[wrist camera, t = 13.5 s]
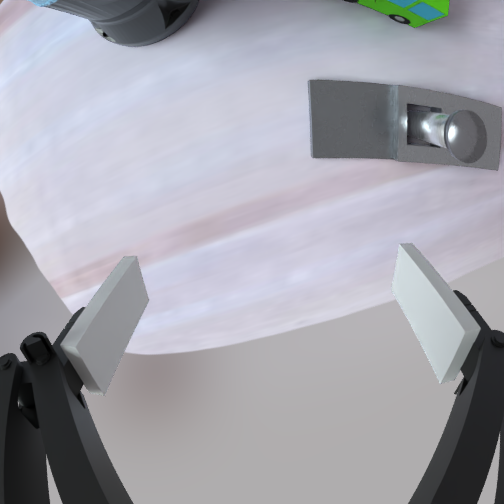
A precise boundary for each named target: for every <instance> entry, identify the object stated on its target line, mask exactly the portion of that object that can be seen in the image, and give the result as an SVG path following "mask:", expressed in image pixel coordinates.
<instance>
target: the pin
mask: <svg viewBox="0 0 504 504" xmlns="http://www.w3.org/2000/svg"><path fill="white" fill-rule="evenodd" d="M407 135H408V136H410V137H412V138H416V139H419V140H422V141H426V142H429V143H432V144H435V145H438V146H441V147H444V148H447V150H448V151H449V153H450V154H451V155H452V156H453V157H454V158H455V159H457V160H459V161H461V162H464V163H474V162H476V161H478V160H479V159H480V158H481V157H482V155H483V154H484V152H485V149H486V145H487V131H486V127H485V125H484V123H483V121H482V119H481V118H480V117H479V116H478V115H477V114H476V113H474V112H472V111H469V110H456V111H454V112H453V113H451V114H450V115H448V114H441V113H434V112H427V111H418V110H410V111H408V112H407Z"/></svg>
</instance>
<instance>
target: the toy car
mask: <svg viewBox="0 0 504 504" xmlns="http://www.w3.org/2000/svg"><path fill="white" fill-rule="evenodd" d="M344 1H347V2H358V3H359V4H361V5H364V6H366V7H369V8H371V9H374V10H376V11H379V12H381V13H383V14H386V15H389V17H390V18H391V19H393V20H395V21H397V22H399V23H404V24H409V25H410V26H412V27H414V28H415V27H418V26H421V25H423V24H426V23H429V22H431V21H434V20H437V19H440V18H442V17H445V16H448V10H449V0H344Z"/></svg>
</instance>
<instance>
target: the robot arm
mask: <svg viewBox="0 0 504 504" xmlns="http://www.w3.org/2000/svg"><path fill="white" fill-rule="evenodd" d="M28 1H31V2H33V3H34V4H35V5H36V6H40V7H48V8H52V9H56V10H59V11H63V12H66V13H70V14H73V15H76V16H79V17H83V18H86V19H89V21H90V22H91V24H92V25H93V27H94V28H95V30H96V31H97V32H98V33H99V34H100V35H101V36H102V37H103V38H105V39H106V40H108V41H110V42H113V43H116V44H119V45H122V46H128V47H138V46H145V45H149V44H152V43H155V42H158V41H160V40H162V39H164V38H166V37H168V36H170V35H171V34H173V33H174V32H175V31H177V30H178V29H179V28H180V27H181V26H183V25H184V24H185V23H186V21H187V20H188V19H189V18H190V17H191V15H192V14H193V12H194V11H195V9H196V7H197V4H198V2H199V0H28ZM391 291H392V292H393V294H394V296H395V298H396V299H397V301H398V303H399V305H400V306H401V308H402V310H403V312H404V314H405V315H406V317H407V319H408V321H409V323H410V325H411V327H412V328H413V330H414V332H415V334H416V336H417V338H418V340H419V342H420V344H421V346H422V348H423V350H424V352H425V353H426V356H427V357H428V360H429V362H430V364H431V366H432V368H433V370H434V372H435V374H436V376H437V379H438V381H439V383H440V384H442V383H445V382H449V381H452V380H455V379H456V377H457V375H458V373H459V371H460V370H461V371H462V373H463V375H464V378H463V379H462V381H461V383H460V384H459V386H458V388H457V390H456V391H455V393H454V394H457V397H456V399H455V402H454V405H453V408H452V411H451V414H450V416H449V419H448V422H447V424H446V427H445V429H444V432H443V434H442V437H441V439H440V442H439V444H438V446H437V448H436V451H435V453H434V455H433V457H432V460H431V461H430V464H429V466H428V468H427V470H426V472H425V474H424V476H423V478H422V480H421V481H420V483H419V485H418V487H417V489H416V491H415V492H414V494H413V496H412V498H411V499H410V502H409V503H408V504H477V502H478V500H479V497H480V494H481V492H482V489H483V487H484V484H485V481H486V478H487V475H488V472H489V469H490V466H491V463H492V459H493V456H494V453H495V449H496V445H497V441H498V437H499V433H500V457H499V458H500V459H499V471H498V481H497V489H496V496H495V503H494V504H504V333H503V332H501V331H498V330H491V329H490V328H489V326H488V325H487V323H486V322H485V321H484V319H483V318H482V317H481V315H480V314H479V313H478V311H476V309H475V307H474V306H473V305H471V302H470V301H469V300H468V299H467V297H466V296H465V295H463V294H462V293H460V292H459V291H457V290H454V291H452V289H451V288H450V287H449V286H448V284H447V283H446V282H445V281H444V279H443V278H442V277H441V276H440V275H439V273H438V272H437V271H436V270H435V269H434V267H433V266H432V265H431V264H430V263H429V262H428V260H427V259H426V258H425V257H424V256H423V255H422V254H421V252H420V251H419V250H418V249H417V248H416V247H415V246H414V245H413V244H412V243H405V244H399V248H398V255H397V261H396V266H395V272H394V277H393V283H392V288H391ZM148 302H149V298H148V295H147V291H146V288H145V284H144V281H143V277H142V274H141V270H140V266H139V263H138V259H137V256H126V257H123V258H122V260H121V261H120V262H119V263H118V265H117V266H116V267H115V269H114V270H113V271H112V272H111V274H110V275H109V276H108V278H107V279H106V280H105V282H104V283H103V284H102V286H101V287H100V288H99V290H98V291H97V292H96V294H95V295H94V296H93V298H92V299H91V301H90V302H89V303H88V305H87V306H86V307H82V308H81V309H80V310H78V311H77V312H76V313H75V314H74V315H73V316H72V318H71V319H70V321H69V323H67V325H66V326H65V329H63V330H62V332H61V333H60V335H59V336H58V338H57V339H56V341H55V342H54V344H53V345H51V343H50V341H49V339H48V338H47V336H46V334H45V333H43V332H36V333H32V334H31V335H29V336H27V337H26V338H25V339H24V340H23V342H22V343H21V346H20V350H21V351H22V353H23V354H24V356H25V358H26V359H27V361H24V362H20V361H19V360H18V358H17V356H16V355H15V354H13V353H8V354H5V355H3V356H1V357H0V504H50V499H49V490H48V480H47V465H46V454H47V458H48V461H49V465H50V468H51V471H52V475H53V477H54V481H55V484H56V487H57V489H58V492H59V495H60V498H61V500H62V503H63V504H133V502H132V500H131V499H130V497H129V495H128V493H127V491H126V490H125V488H124V486H123V484H122V482H121V481H120V479H119V477H118V475H117V473H116V471H115V469H114V467H113V465H112V463H111V461H110V459H109V457H108V454H107V452H106V450H105V448H104V446H103V443H102V441H101V439H100V437H99V434H98V432H97V429H96V427H95V424H94V422H93V419H92V417H91V415H90V412H89V409H88V407H87V403H86V401H85V398H84V395H83V394H82V393H81V391H80V390H81V388H82V386H83V384H84V385H85V387H86V388H87V390H88V391H89V393H92V394H97V395H103V396H104V395H105V394H106V391H107V389H108V387H109V385H110V382H111V380H112V377H113V376H114V373H115V371H116V369H117V367H118V364H119V362H120V360H121V358H122V356H123V354H124V351H125V349H126V347H127V345H128V343H129V341H130V339H131V336H132V334H133V332H134V330H135V328H136V326H137V324H138V322H139V320H140V318H141V316H142V314H143V312H144V310H145V308H146V306H147V304H148ZM457 392H458V393H457ZM18 402H19V407H18Z"/></svg>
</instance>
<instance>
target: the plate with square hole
mask: <svg viewBox="0 0 504 504" xmlns="http://www.w3.org/2000/svg"><path fill="white" fill-rule="evenodd" d="M308 93H309V112H310V137H311V157H312V158H376V159H394V160H396V161H400V162H418V163H432V164H444V165H455V166H465V167H474V168H482V169H490V170H497V171H498V167H499V156H500V143H501V120H502V108H501V107H498V106H495V105H491V104H488V103H484V102H481V101H477V100H473V99H469V98H465V97H461V96H457V95H452V94H447V93H443V92H438V91H432V90H427V89H421V88H415V87H408V86H401V85H385V84H376V83H365V82H352V81H333V80H309V81H308ZM407 104H413V105H420V106H427V107H431V112H434V113H441V114H448V115H450V114H451V113H453V112H454V111H456V110H469V111H472V112H474V113H476V114H477V115H478V116H479V117H480V118H481V119H482V121H483V123H484V125H485V127H486V131H487V145H486V149H485V152H484V154H483V155H482V157H481V158H480V159H479V160H478V161H476V162H474V163H464V162H461V161H459V160H457V159H455V158H454V157H453V156H452V155H451V154H450V153H449V151H448V150H447V148H444V147H441V146H438V145H435V144H432V143H430V144H420V143H409V142H407Z"/></svg>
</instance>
